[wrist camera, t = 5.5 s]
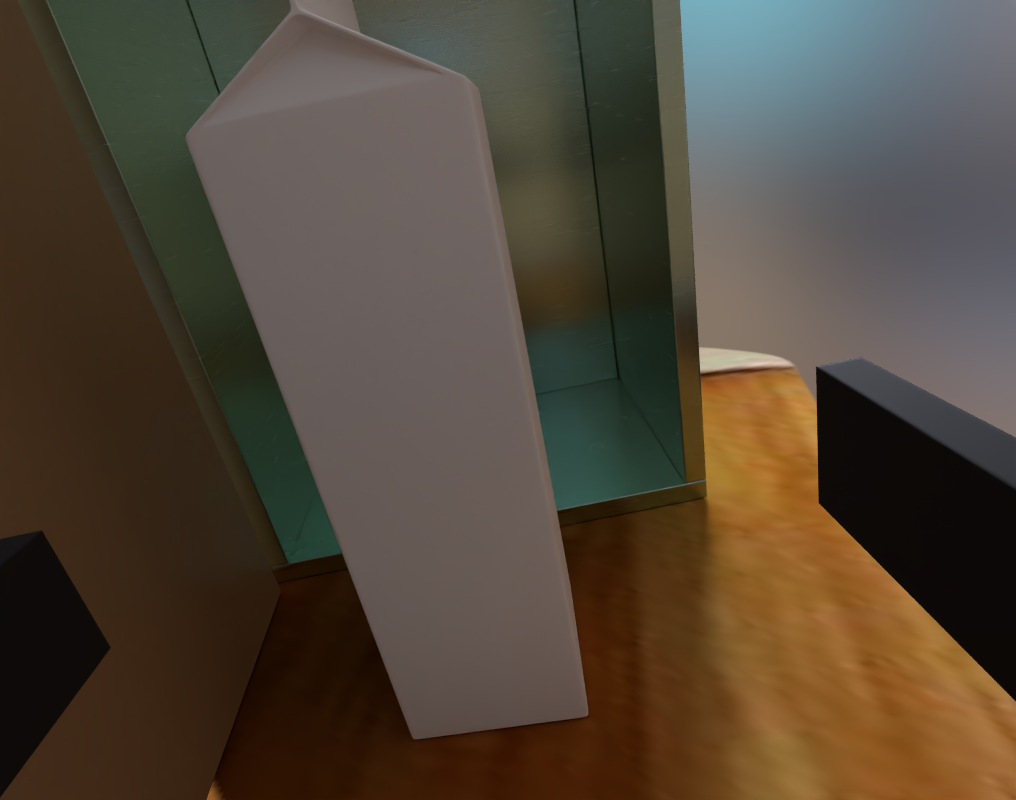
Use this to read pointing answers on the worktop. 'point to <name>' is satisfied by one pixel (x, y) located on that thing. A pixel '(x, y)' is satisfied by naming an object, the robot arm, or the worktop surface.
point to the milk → (401, 360)
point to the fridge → (525, 209)
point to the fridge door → (113, 473)
